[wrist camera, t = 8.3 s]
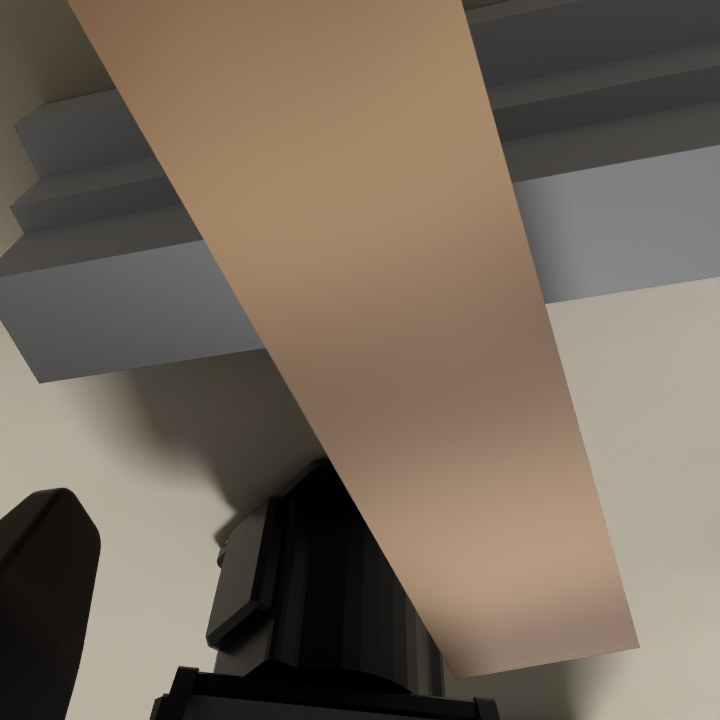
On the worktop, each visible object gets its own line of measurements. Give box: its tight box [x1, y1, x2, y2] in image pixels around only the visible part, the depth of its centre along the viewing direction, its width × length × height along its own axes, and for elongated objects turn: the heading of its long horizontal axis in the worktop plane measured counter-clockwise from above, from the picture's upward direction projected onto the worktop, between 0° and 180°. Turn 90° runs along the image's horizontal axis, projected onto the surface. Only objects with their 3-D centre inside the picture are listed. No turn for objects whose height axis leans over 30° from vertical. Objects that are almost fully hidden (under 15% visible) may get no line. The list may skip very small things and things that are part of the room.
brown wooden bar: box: [67, 0, 640, 680], centre depth 11 cm, size 14×4×4 cm, turn 22°
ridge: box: [0, 0, 720, 383], centre depth 14 cm, size 16×6×5 cm, turn 102°
